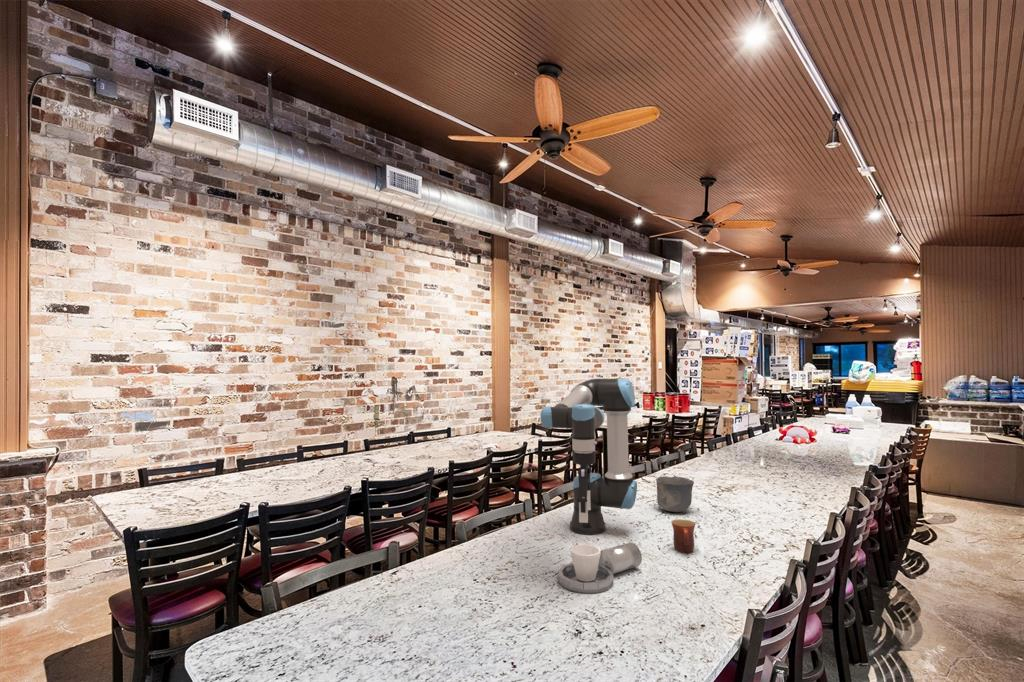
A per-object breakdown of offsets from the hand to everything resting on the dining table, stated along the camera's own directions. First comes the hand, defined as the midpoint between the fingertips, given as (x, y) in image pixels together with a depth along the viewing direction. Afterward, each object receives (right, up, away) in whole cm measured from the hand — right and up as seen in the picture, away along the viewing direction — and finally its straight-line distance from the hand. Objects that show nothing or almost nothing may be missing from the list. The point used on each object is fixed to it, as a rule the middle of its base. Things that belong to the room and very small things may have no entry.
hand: (585, 515), depth 166 cm
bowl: (+54, -24, +74) cm, 95 cm away
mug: (+41, -22, +23) cm, 52 cm away
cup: (0, -20, -2) cm, 20 cm away
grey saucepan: (+5, -21, +1) cm, 21 cm away
